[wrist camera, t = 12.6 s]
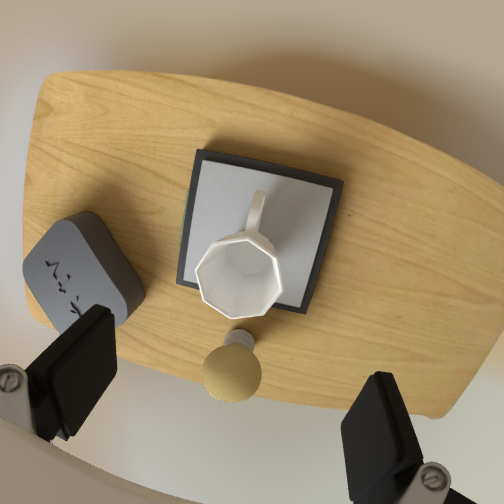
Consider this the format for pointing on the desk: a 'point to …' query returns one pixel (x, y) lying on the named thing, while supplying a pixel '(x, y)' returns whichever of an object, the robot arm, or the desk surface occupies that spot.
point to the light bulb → (232, 368)
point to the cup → (241, 270)
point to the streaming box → (81, 272)
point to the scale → (272, 219)
